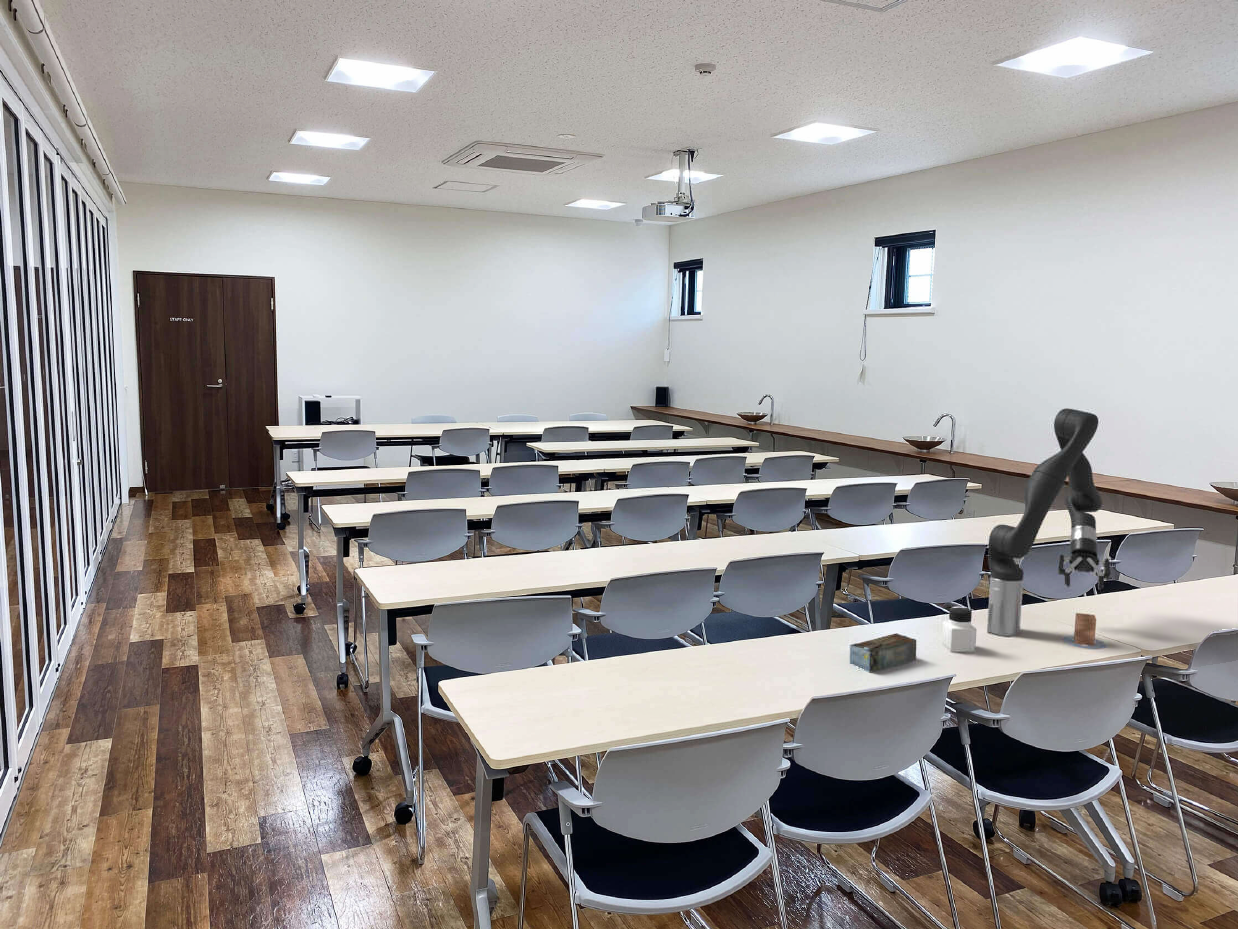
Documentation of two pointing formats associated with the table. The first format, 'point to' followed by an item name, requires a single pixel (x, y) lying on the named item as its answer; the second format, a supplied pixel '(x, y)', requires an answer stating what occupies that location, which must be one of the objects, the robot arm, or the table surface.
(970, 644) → the medicine bottle
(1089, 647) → the letter mat
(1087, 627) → the terracotta block
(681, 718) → the table surface
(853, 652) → the grey boxy piece
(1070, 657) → the table surface
